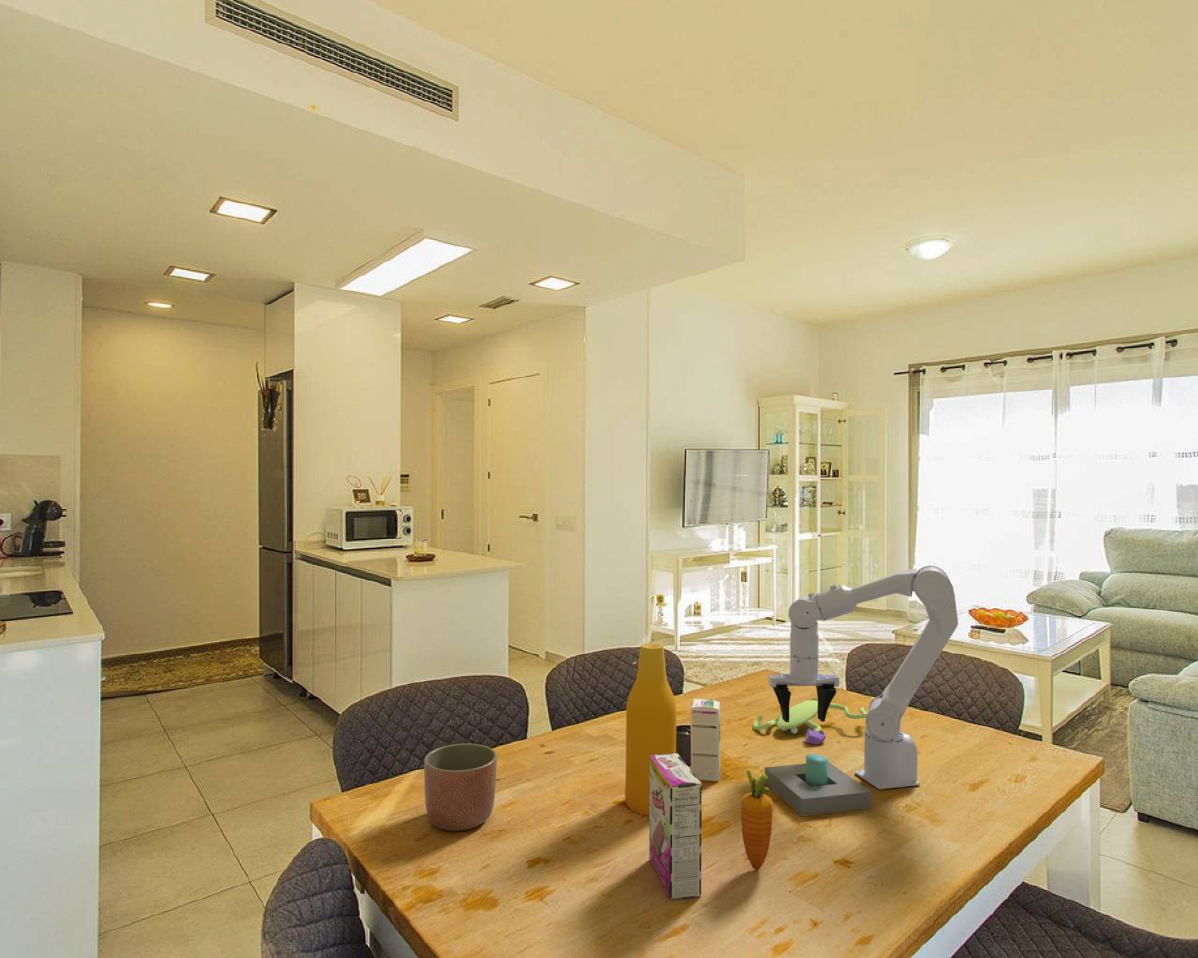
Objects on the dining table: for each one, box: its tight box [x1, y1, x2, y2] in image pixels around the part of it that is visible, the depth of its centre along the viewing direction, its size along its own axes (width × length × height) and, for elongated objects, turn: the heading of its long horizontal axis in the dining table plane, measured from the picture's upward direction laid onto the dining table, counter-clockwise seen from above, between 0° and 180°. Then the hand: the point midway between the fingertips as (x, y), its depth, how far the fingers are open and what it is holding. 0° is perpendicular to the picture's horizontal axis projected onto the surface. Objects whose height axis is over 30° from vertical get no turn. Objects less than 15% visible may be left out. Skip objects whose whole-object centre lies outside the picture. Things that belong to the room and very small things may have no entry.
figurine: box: [752, 697, 868, 745], centre depth 167 cm, size 18×27×6 cm
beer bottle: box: [624, 642, 677, 816], centre depth 126 cm, size 9×9×29 cm
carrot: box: [740, 770, 774, 872], centre depth 105 cm, size 5×5×15 cm
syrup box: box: [690, 698, 721, 782], centre depth 139 cm, size 6×6×14 cm
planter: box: [423, 743, 498, 832], centre depth 119 cm, size 12×12×11 cm
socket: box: [764, 761, 872, 817], centre depth 131 cm, size 14×14×3 cm
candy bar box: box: [648, 752, 703, 901], centre depth 102 cm, size 11×5×16 cm, turn 12°
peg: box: [805, 753, 829, 787], centre depth 130 cm, size 4×4×7 cm
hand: (803, 720), depth 144 cm, fingers open, 7 cm apart
